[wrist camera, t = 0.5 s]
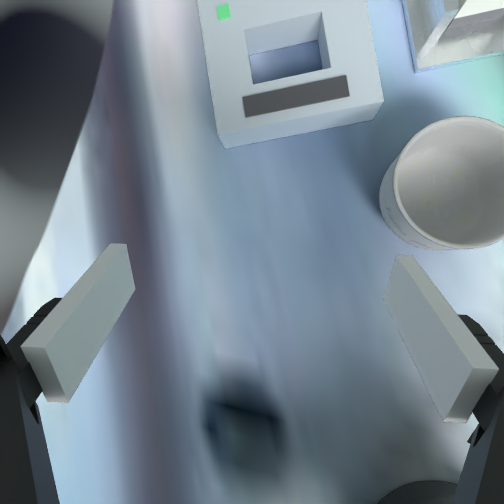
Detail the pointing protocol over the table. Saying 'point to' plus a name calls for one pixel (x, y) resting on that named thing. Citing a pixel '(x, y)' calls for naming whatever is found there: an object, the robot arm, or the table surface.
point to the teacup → (448, 186)
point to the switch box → (294, 87)
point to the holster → (448, 35)
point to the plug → (477, 11)
